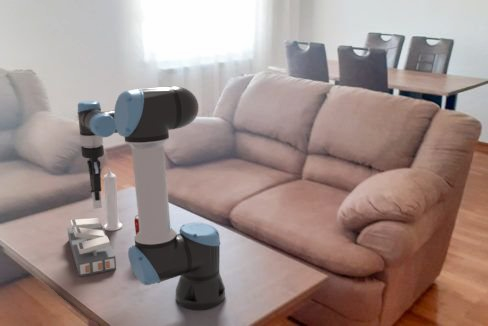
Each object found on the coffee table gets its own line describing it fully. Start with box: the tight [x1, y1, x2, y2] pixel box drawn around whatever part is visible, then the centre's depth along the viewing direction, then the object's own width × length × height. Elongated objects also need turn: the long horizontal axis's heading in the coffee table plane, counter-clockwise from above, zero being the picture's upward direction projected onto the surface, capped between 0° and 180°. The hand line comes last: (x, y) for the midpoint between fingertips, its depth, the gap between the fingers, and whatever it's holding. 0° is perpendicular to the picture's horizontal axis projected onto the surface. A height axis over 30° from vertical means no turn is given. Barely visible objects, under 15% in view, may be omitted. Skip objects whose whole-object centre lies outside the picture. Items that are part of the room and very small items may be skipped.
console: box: [67, 224, 117, 277], centre depth 174 cm, size 28×12×7 cm, turn 25°
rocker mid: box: [74, 227, 106, 239], centre depth 173 cm, size 5×10×2 cm, turn 115°
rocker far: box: [70, 217, 102, 229], centre depth 181 cm, size 5×10×2 cm, turn 115°
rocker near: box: [77, 235, 111, 254], centre depth 166 cm, size 5×10×2 cm, turn 115°
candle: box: [103, 167, 123, 232], centre depth 193 cm, size 7×7×25 cm
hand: (97, 207), depth 181 cm, fingers closed
